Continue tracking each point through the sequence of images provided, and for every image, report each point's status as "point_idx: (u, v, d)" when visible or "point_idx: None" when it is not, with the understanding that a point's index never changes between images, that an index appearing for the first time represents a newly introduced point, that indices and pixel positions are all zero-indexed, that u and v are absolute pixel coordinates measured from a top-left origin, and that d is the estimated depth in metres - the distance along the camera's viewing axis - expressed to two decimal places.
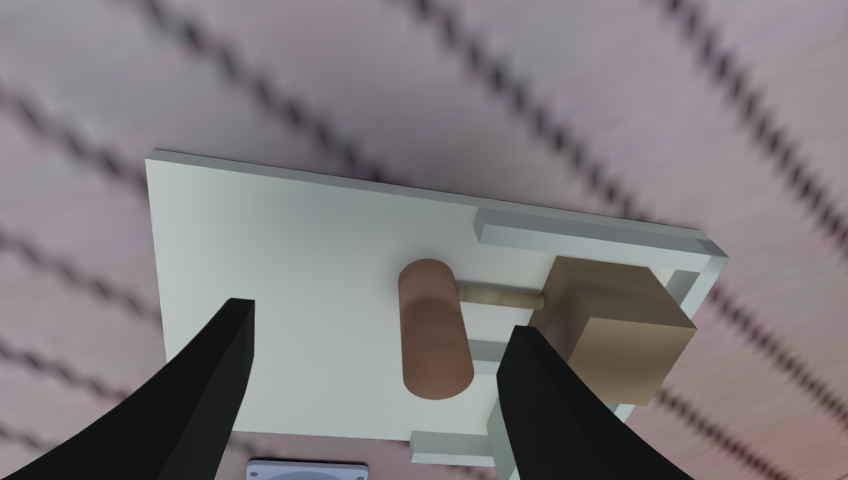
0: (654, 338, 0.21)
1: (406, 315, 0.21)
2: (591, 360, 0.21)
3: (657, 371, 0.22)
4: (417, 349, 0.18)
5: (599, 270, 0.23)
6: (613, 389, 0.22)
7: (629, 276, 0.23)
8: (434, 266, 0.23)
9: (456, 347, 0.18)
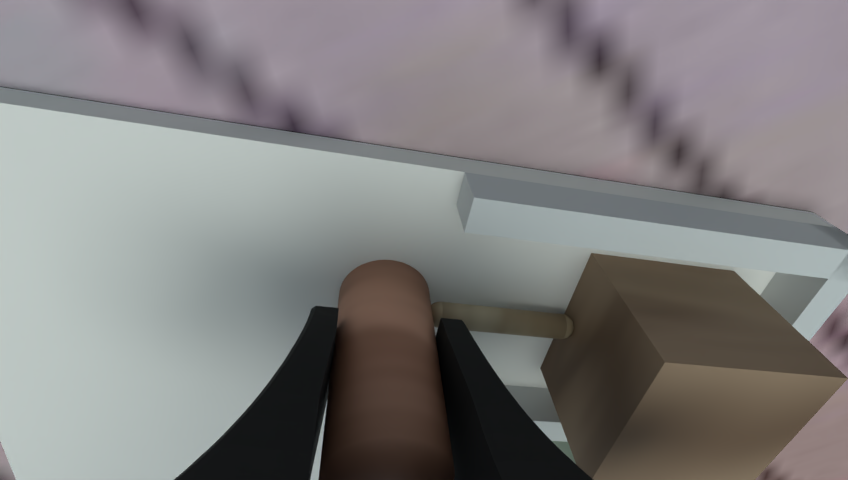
0: (771, 395, 0.12)
1: (337, 359, 0.12)
2: (659, 431, 0.12)
3: (766, 445, 0.13)
4: (344, 433, 0.10)
5: (661, 276, 0.14)
6: (690, 473, 0.14)
7: (710, 285, 0.14)
8: (393, 271, 0.14)
9: (419, 428, 0.10)
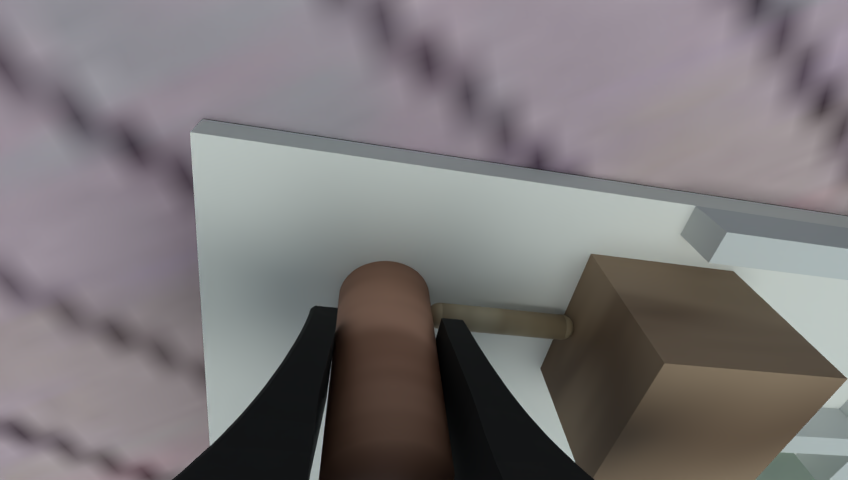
0: (771, 396, 0.12)
1: (337, 360, 0.12)
2: (659, 431, 0.12)
3: (766, 446, 0.13)
4: (343, 434, 0.10)
5: (661, 277, 0.14)
6: (690, 474, 0.14)
7: (710, 286, 0.14)
8: (393, 272, 0.14)
9: (418, 430, 0.10)
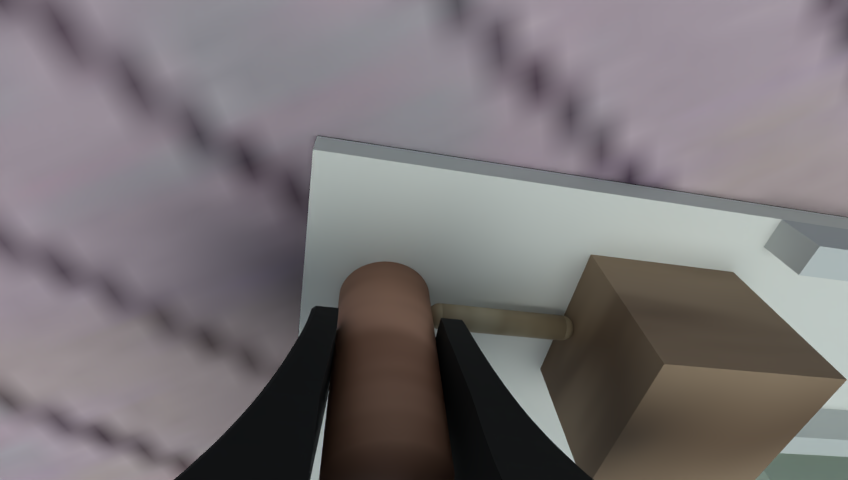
0: (771, 397, 0.12)
1: (337, 361, 0.12)
2: (659, 432, 0.12)
3: (766, 446, 0.13)
4: (343, 435, 0.10)
5: (661, 277, 0.14)
6: (690, 475, 0.14)
7: (709, 287, 0.14)
8: (393, 273, 0.14)
9: (419, 431, 0.10)
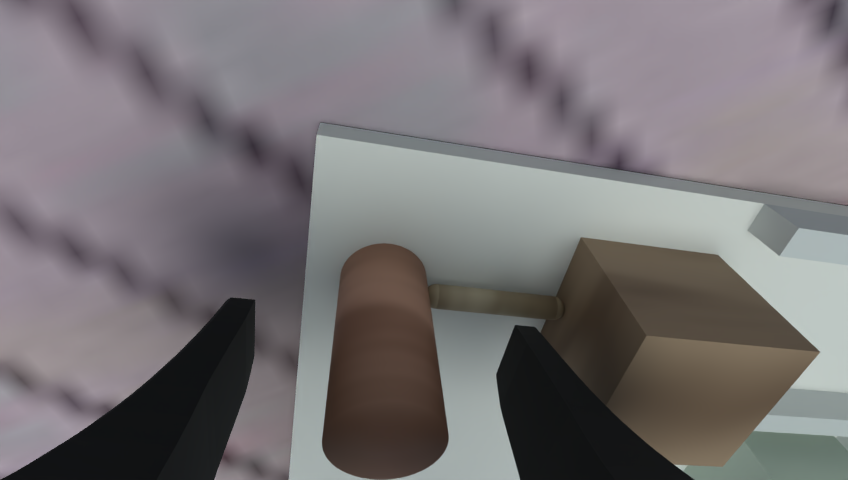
0: (748, 369, 0.13)
1: (339, 334, 0.12)
2: (643, 402, 0.13)
3: (746, 418, 0.14)
4: (345, 398, 0.10)
5: (647, 259, 0.15)
6: (673, 445, 0.14)
7: (694, 268, 0.15)
8: (391, 254, 0.15)
9: (416, 394, 0.10)
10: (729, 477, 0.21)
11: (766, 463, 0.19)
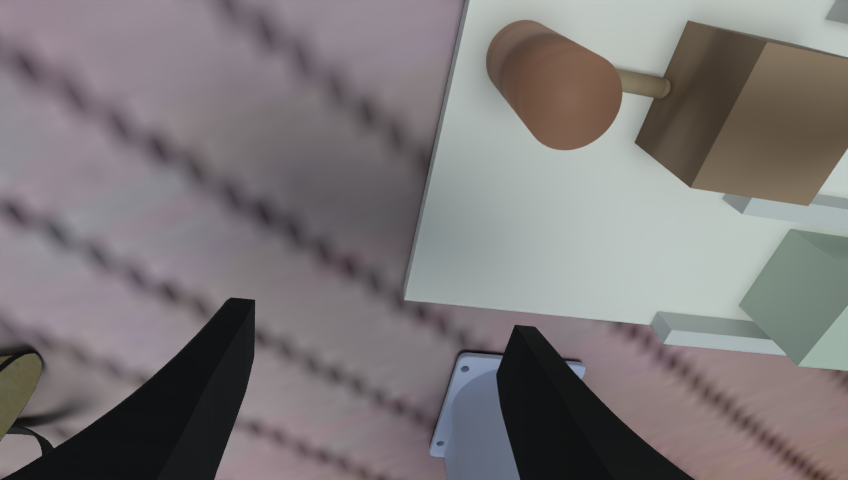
0: (842, 86, 0.16)
1: (515, 55, 0.16)
2: (754, 121, 0.16)
3: (833, 146, 0.17)
4: (547, 60, 0.13)
5: (745, 33, 0.18)
6: (772, 176, 0.17)
7: (783, 42, 0.18)
8: (537, 23, 0.18)
9: (602, 57, 0.13)
10: (794, 277, 0.24)
11: (830, 253, 0.22)
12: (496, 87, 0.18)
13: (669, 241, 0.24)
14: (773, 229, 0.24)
